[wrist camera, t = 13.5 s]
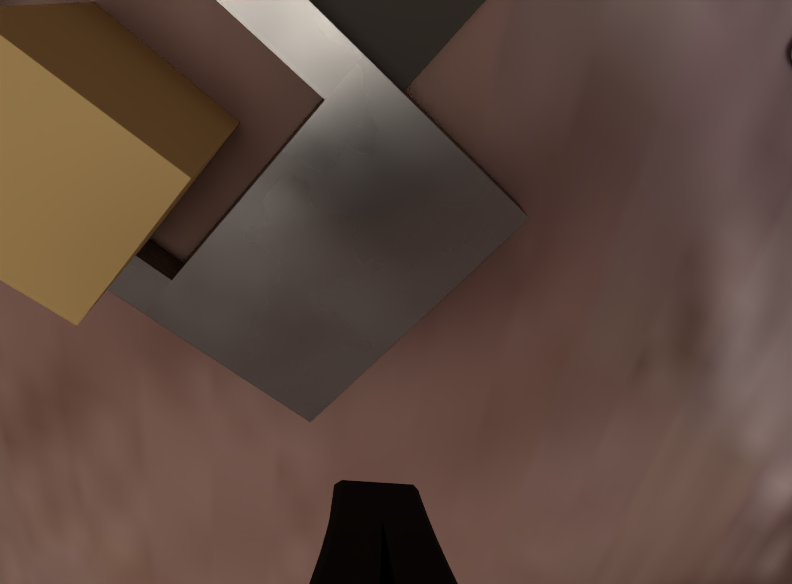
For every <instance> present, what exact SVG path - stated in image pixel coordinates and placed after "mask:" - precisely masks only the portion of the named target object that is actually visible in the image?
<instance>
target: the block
mask: <svg viewBox="0 0 792 584" xmlns="http://www.w3.org/2000/svg"><path fill="white" fill-rule="evenodd" d="M239 123H240V122H239V121H238V120H237V119H235V118H234V117H233V116H232V115H231V114H229V113H228V112H227V111H226V110H224V109H223V108H222V107H221V106H220V105H218V104H217V103H216V102H215V101H213V100H212V99H211V98H210V97H209V96H207V95H206V94H205V93H204V92H203V91H201V90H200V89H199V88H198V87H196V86H195V85H194V84H193V83H192V82H190V81H189V80H188V79H187V78H185V77H184V76H183V75H182V74H181V73H179V72H178V71H177V70H176V69H174V68H173V67H172V66H171V65H170V64H168V63H167V62H166V61H165V60H164V59H162V58H161V57H160V56H159V55H157V54H156V53H155V52H154V51H153V50H151V49H150V48H149V47H148V46H146V45H145V44H144V43H143V42H142V41H140V40H139V39H138V38H137V37H136V36H134V35H133V34H132V33H131V32H129V31H128V30H127V29H126V28H125V27H123V26H122V25H121V24H120V23H118V22H117V21H116V20H115V19H114V18H112V17H111V16H110V15H109V14H107V13H106V12H105V11H104V10H103V9H101V8H100V7H99V6H98V5H97V4H95V3H94V2H88V3H68V4H47V5H27V6H7V7H0V280H1V281H3V282H5V283H6V284H8V285H10V286H11V287H13V288H15V289H16V290H18V291H20V292H21V293H23V294H25V295H26V296H28V297H30V298H31V299H33V300H35V301H36V302H38V303H40V304H41V305H43V306H45V307H46V308H48V309H50V310H51V311H53V312H55V313H56V314H58V315H60V316H61V317H63V318H65V319H66V320H68V321H70V322H71V323H73V324H75V325H76V326H77V325H78V324H79V323H80V322H81V321H82V319H83V318H84V317H85V316H86V315H87V313H88V312H89V311H90V310H91V309H92V307H93V306H94V305H95V304H96V303H97V301H98V300H99V299H100V298H101V296H102V295H103V294H104V293H105V292H106V290H107V289H108V288H109V287H110V286H111V284H112V283H113V282H114V281H115V280H116V278H117V277H118V276H119V275H120V274H121V272H122V271H123V270H124V269H125V268H126V266H127V265H128V264H129V263H130V262H131V260H132V259H133V258H134V257H135V256H136V254H137V253H138V252H139V251H140V250H141V248H142V247H143V246H144V245H145V244H146V242H147V241H148V240H149V239H150V238H151V236H152V235H153V234H154V233H155V231H156V230H157V229H158V227H159V226H160V225H161V224H162V222H163V221H164V220H165V218H166V217H167V216H168V215H169V213H170V212H171V211H172V209H173V208H174V207H175V206H176V204H177V203H178V202H179V200H180V199H181V198H182V197H183V195H184V194H185V193H186V191H187V190H188V189H189V188H190V186H191V185H192V184H193V182H194V181H195V180H196V179H197V177H198V176H199V175H200V173H201V172H202V171H203V170H204V168H205V167H206V166H207V164H208V163H209V162H210V160H211V159H212V158H213V157H214V155H215V154H216V153H217V151H218V150H219V149H220V148H221V146H222V145H223V144H224V142H225V141H226V140H227V139H228V137H229V136H230V135H231V133H232V132H233V131H234V130H235V128H236V127H237V126H238V124H239Z"/></svg>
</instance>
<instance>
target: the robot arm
mask: <svg viewBox="0 0 792 584" xmlns="http://www.w3.org/2000/svg"><path fill="white" fill-rule="evenodd" d="M791 58H792V51H791ZM309 584H458V583H457V581H456V579H455V577H454V575H453V573H452V571H451V569H450V567H449V565H448V562H447V560H446V558H445V556H444V554H443V551H442V549H441V547H440V545H439V542H438V540H437V538H436V535H435V533H434V531H433V528H432V526H431V523H430V521H429V518H428V516H427V513H426V511H425V508H424V505H423V503H422V500H421V497H420V494H419V491H418V490H417V488H416V487H415V486H414V485H409V484H394V483H378V482H363V481H347V480H341V481H340V482H338V483H336V484H335V485H334V490H333V498H332V505H331V512H330V519H329V523H328V527H327V531H326V535H325V538H324V542H323V545H322V549H321V552H320V555H319V558H318V561H317V564H316V566H315V569H314V572H313V575H312V578H311V581H310V583H309Z"/></svg>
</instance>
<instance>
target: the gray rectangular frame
mask: <svg viewBox="0 0 792 584" xmlns="http://www.w3.org/2000/svg"><path fill="white" fill-rule="evenodd" d="M217 1H218V2H219V3H220V4H221V5H222V6H223V7H224V8H225V9H227V10H228V11H229V12H230V13H231V14H232V15H233V16H234V17H235V18H236V19H237V20H239V21H240V22H241V23H242V24H243V25H244V26H245V27H246V28H247V29H248V30H249V31H251V32H252V33H253V34H254V35H255V36H256V37H257V38H258V39H259V40H260V41H261V42H262V43H264V44H265V45H266V46H267V47H268V48H269V49H270V50H271V51H272V52H273V53H274V54H276V55H277V56H278V57H279V58H280V59H281V60H282V61H283V62H284V63H285V64H286V65H288V66H289V67H290V68H291V69H292V70H293V71H294V72H295V73H296V74H297V75H298V76H299V77H301V78H302V79H303V80H304V81H305V82H306V83H307V84H308V85H309V86H310V87H311V88H313V89H314V90H315V91H316V92H317V93H318V94H319V95H320V96H321V97H322V100H321V101H320V102H319V103H318V104H317V105H316V107H315V108H314V109H313V110H312V111H311V113H310V114H309V115H308V116H307V117H306V118H305V120H304V121H303V122H302V123H301V124H300V126H299V127H298V128H297V129H296V130H295V131H294V133H293V134H292V135H291V136H290V137H289V139H288V140H287V141H286V142H285V143H284V144H283V146H282V147H281V148H280V149H279V150H278V152H277V153H276V154H275V155H274V156H273V157H272V159H271V160H270V161H269V162H268V163H267V165H266V166H265V167H264V168H263V169H262V170H261V172H260V173H259V174H258V175H257V176H256V178H255V179H254V180H253V181H252V182H251V183H250V185H249V186H248V187H247V188H246V189H245V191H244V192H243V193H242V194H241V195H240V196H239V198H238V199H237V200H236V201H235V202H234V204H233V205H232V206H231V207H230V208H229V209H228V211H227V212H226V213H225V214H224V215H223V216H222V218H221V219H220V220H219V221H218V222H217V224H216V225H215V226H214V227H213V228H212V229H211V231H210V232H209V233H208V234H207V235H206V237H205V238H204V239H203V240H202V241H201V242H200V244H199V245H198V246H197V247H196V248H195V250H194V251H193V252H192V253H191V254H190V255H189V257H188V258H187V259H186V260H185V261H184V263H181V262H180V261H178V260H177V259H175V258H174V257H173V256H171V255H170V254H168V253H167V252H166V251H164V250H163V249H161V248H160V247H158V246H157V245H156V244H154V243H153V242H151V241H150V240H148V241H147V242H146V244H145V245H144V246H143V247H142V248H141V250H140V251H139V252H138V253H137V254H136V256H135V257H134V258H133V259H132V260H131V262H130V263H129V264H128V265H127V266H126V268H125V269H124V270H123V271H122V272H121V274H120V275H119V276H118V277H117V278H116V280H115V281H114V282H113V283H112V284H111V286H110V287H109V288H108V289H107V290H108V291H110V292H111V293H113V294H115V295H116V296H118V297H119V298H121V299H122V300H124V301H125V302H127V303H128V304H130V305H131V306H133V307H134V308H136V309H138V310H139V311H141V312H142V313H144V314H145V315H147V316H148V317H150V318H151V319H153V320H154V321H156V322H157V323H159V324H160V325H162V326H164V327H165V328H167V329H168V330H170V331H171V332H173V333H174V334H176V335H177V336H179V337H180V338H182V339H183V340H185V341H187V342H188V343H190V344H191V345H193V346H194V347H196V348H197V349H199V350H200V351H202V352H203V353H205V354H206V355H208V356H210V357H211V358H213V359H214V360H216V361H217V362H219V363H220V364H222V365H223V366H225V367H226V368H228V369H229V370H231V371H233V372H234V373H236V374H237V375H239V376H240V377H242V378H243V379H245V380H246V381H248V382H249V383H251V384H252V385H254V386H256V387H257V388H259V389H260V390H262V391H263V392H265V393H266V394H268V395H269V396H271V397H272V398H274V399H275V400H277V401H278V402H280V403H282V404H283V405H285V406H286V407H288V408H289V409H291V410H292V411H294V412H295V413H297V414H298V415H300V416H301V417H303V418H305V419H306V420H308V421H309V422H311V421H312V420H313V419H314V418H315V417H316V416H317V415H319V414H320V413H321V412H322V411H323V410H324V409H325V408H326V407H327V406H328V405H329V404H330V403H331V402H333V401H334V400H335V399H336V398H337V397H338V396H339V395H340V394H341V393H342V392H343V391H344V390H345V389H346V388H348V387H349V386H350V385H351V384H352V383H353V382H354V381H355V380H356V379H357V378H358V377H359V376H360V375H362V374H363V373H364V372H365V371H366V370H367V369H368V368H369V367H370V366H371V365H372V364H373V363H374V362H376V361H377V360H378V359H379V358H380V357H381V356H382V355H383V354H384V353H385V352H386V351H387V350H388V349H389V348H391V347H392V346H393V345H394V344H395V343H396V342H397V341H398V340H399V339H400V338H401V337H402V336H403V335H405V334H406V333H407V332H408V331H409V330H410V329H411V328H412V327H413V326H414V325H415V324H416V323H417V322H419V321H420V320H421V319H422V318H423V317H424V316H425V315H426V314H427V313H428V312H429V311H430V310H431V309H433V308H434V307H435V306H436V305H437V304H438V303H439V302H440V301H441V300H442V299H443V298H444V297H445V296H446V295H448V294H449V293H450V292H451V291H452V290H453V289H454V288H455V287H456V286H457V285H458V284H459V283H460V282H462V281H463V280H464V279H465V278H466V277H467V276H468V275H469V274H470V273H471V272H472V271H473V270H474V269H476V268H477V267H478V266H479V265H480V264H481V263H482V262H483V261H484V260H485V259H486V258H487V257H488V256H489V255H491V254H492V253H493V252H494V251H495V250H496V249H497V248H498V247H499V246H500V245H501V244H502V243H503V242H505V241H506V240H507V239H508V238H509V237H510V236H511V235H512V234H513V233H514V232H515V231H516V230H517V229H519V228H520V227H521V226H522V225H523V224H524V223H525V222H526V221H527V220H528V219H529V217H528V215H527V214H526V213H525V212H524V210H523V209H522V208H521V206H520V205H519V204H518V203H517V202H516V201H515V200H514V199H513V198H512V197H511V196H510V195H509V194H508V193H507V192H506V191H505V190H504V189H503V188H502V187H501V186H500V185H499V184H498V183H497V182H496V181H495V180H494V179H493V178H492V177H491V176H490V175H489V174H488V173H487V172H486V171H485V170H484V169H483V168H482V167H481V166H480V165H479V164H478V163H477V162H476V161H475V160H474V159H473V158H472V157H471V156H470V155H469V154H468V153H467V152H466V151H465V150H463V149H462V148H461V147H460V146H459V145H458V144H457V143H456V142H455V141H454V140H453V139H452V138H451V137H450V136H449V135H448V134H447V133H446V132H445V131H444V130H443V129H442V128H441V127H440V126H439V125H438V124H437V123H436V122H435V121H434V120H433V119H432V118H431V117H430V116H429V115H428V114H427V113H426V112H425V111H424V110H423V109H422V108H421V107H420V106H419V105H418V104H417V103H416V102H415V101H414V100H413V99H412V98H411V97H410V96H409V95H408V94H407V93H406V92H405V91H403V90H402V89H401V88H400V87H399V86H398V85H397V84H396V83H395V82H394V81H393V80H392V79H391V78H390V77H389V76H388V75H387V74H386V73H385V72H384V71H383V70H382V69H381V68H380V67H379V66H378V65H377V64H376V63H375V62H374V61H373V60H372V59H371V58H370V57H369V56H368V55H367V54H366V53H365V52H364V51H363V50H362V49H361V48H360V47H359V46H358V45H357V44H356V43H355V42H354V41H353V40H352V39H351V38H350V37H349V36H348V35H347V34H346V33H345V32H344V31H343V30H342V29H341V28H340V27H339V26H338V25H337V24H336V23H335V22H333V21H332V20H331V19H330V18H329V17H328V16H327V15H326V14H325V13H324V12H323V11H322V10H321V9H320V8H319V7H318V6H317V5H316V4H315V3H314V2H313V1H312V0H217Z"/></svg>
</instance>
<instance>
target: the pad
mask: <svg viewBox="0 0 792 584" xmlns="http://www.w3.org/2000/svg"><path fill="white" fill-rule="evenodd" d="M312 1H313V2H314V3H315V4H316V5H317V6H318V7H319V8H320V9H321V10H322V11H323V12H324V13H325V14H326V15H327V16H328V17H329V18H330V19H331V20H332V21H333V22H335V23H336V24H337V25H338V26H339V27H340V28H341V29H342V30H343V31H344V32H345V33H346V34H347V35H348V36H349V37H350V38H351V39H352V40H353V41H354V42H355V43H356V44H357V45H358V46H359V47H360V48H361V49H362V50H363V51H364V52H365V53H366V54H367V55H368V56H369V57H370V58H371V59H372V60H373V61H374V62H375V63H376V64H377V65H378V66H379V67H380V68H381V69H382V70H383V71H384V72H385V73H386V74H387V75H388V76H389V77H390V78H391V79H392V80H393V81H394V82H395V83H396V84H397V85H398V86H399V87H400V88H401V89H402V90H403V91H404V90H405V89H406V88H407V87H408V86H409V85H410V83H411V82H412V81H413V80H414V79H415V78H416V77H417V76H418V75H419V73H420V72H421V71H422V70H423V69H424V68H425V67H426V66H427V65H428V63H429V62H430V61H431V60H432V59H433V58H434V57H435V56H436V54H437V53H438V52H439V51H440V50H441V49H442V48H443V47H444V46H445V44H446V43H447V42H448V41H449V40H450V39H451V38H452V37H453V36H454V34H455V33H456V32H457V31H458V30H459V29H460V28H461V27H462V26H463V24H464V23H465V22H466V21H467V20H468V19H469V18H470V17H471V15H472V14H473V13H474V12H475V11H476V10H477V9H478V8H479V7H480V5H481V4H482V3H483V2H484V1H485V0H312Z"/></svg>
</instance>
